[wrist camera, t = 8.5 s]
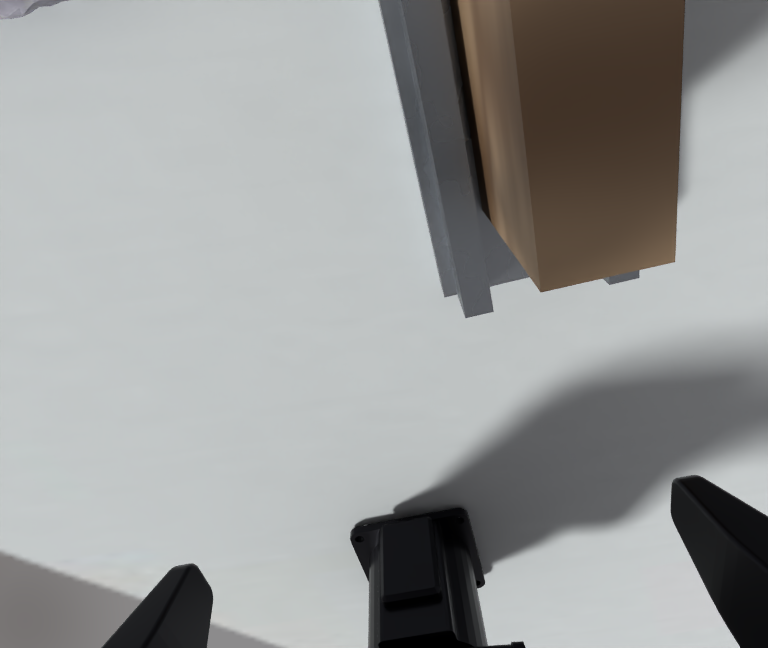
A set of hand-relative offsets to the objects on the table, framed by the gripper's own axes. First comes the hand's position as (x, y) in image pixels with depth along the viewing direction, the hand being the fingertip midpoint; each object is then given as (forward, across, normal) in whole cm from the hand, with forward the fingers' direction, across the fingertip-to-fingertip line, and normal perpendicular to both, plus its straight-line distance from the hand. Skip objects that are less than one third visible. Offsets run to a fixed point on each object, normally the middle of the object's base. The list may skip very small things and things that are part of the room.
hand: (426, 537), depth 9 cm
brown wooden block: (+11, -5, -7) cm, 14 cm away
